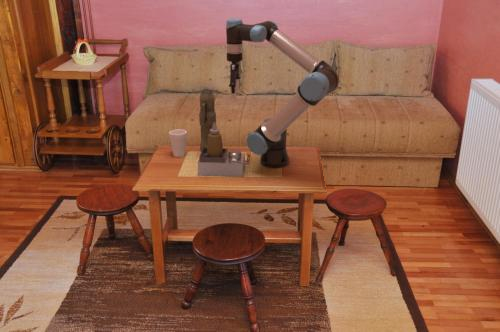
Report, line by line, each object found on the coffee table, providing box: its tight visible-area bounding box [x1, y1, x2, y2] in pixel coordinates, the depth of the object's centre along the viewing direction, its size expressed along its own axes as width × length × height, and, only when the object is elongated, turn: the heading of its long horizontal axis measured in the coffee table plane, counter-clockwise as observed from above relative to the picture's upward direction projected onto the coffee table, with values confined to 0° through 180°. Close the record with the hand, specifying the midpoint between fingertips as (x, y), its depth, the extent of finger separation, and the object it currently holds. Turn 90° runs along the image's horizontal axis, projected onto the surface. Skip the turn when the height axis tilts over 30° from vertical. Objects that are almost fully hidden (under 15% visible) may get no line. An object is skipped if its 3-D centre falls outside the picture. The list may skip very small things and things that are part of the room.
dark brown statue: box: [198, 90, 217, 153], centre depth 276 cm, size 9×12×35 cm
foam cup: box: [168, 128, 188, 158], centre depth 280 cm, size 10×9×13 cm
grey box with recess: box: [197, 147, 246, 178], centre depth 263 cm, size 22×18×10 cm
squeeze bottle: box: [207, 122, 224, 157], centre depth 257 cm, size 8×8×18 cm
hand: (234, 95), depth 256 cm, fingers open, 13 cm apart
